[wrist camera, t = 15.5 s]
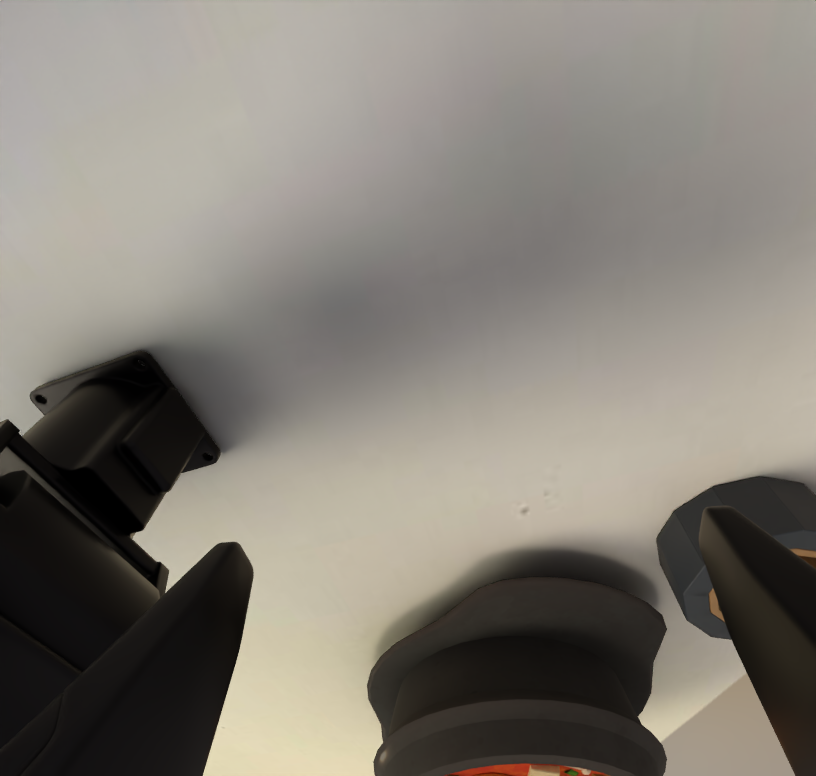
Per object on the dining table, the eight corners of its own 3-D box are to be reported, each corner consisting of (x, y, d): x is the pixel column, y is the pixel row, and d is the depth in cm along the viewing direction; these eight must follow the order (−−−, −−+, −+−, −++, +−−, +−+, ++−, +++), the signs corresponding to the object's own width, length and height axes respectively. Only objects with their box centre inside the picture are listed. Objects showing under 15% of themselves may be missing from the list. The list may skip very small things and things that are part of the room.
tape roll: (664, 596, 30) (690, 652, 27) (649, 500, 26) (677, 555, 23) (818, 567, 29) (864, 624, 26) (828, 460, 24) (883, 514, 22)
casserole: (430, 517, 27) (432, 673, 20) (730, 587, 30) (825, 749, 23) (335, 726, 40) (316, 866, 33) (549, 763, 43) (573, 901, 36)
